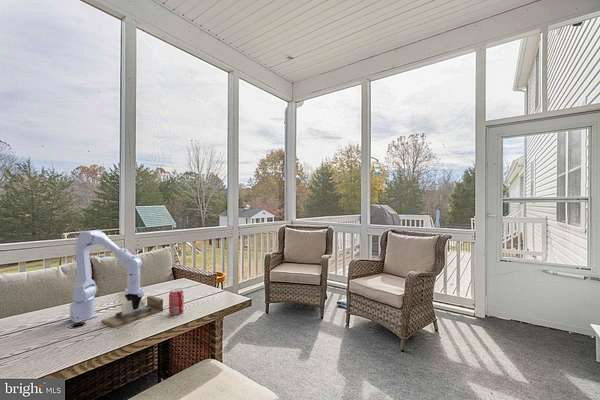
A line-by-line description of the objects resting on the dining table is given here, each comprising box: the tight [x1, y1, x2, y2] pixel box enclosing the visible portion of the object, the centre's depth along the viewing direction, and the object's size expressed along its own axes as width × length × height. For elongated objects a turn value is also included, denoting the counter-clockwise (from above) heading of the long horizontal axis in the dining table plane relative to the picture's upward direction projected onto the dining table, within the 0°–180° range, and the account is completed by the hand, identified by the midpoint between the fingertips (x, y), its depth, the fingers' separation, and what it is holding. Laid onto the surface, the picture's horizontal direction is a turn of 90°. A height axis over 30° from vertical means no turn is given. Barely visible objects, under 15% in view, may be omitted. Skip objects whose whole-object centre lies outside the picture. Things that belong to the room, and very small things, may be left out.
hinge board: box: [101, 295, 164, 329], centre depth 142 cm, size 24×12×6 cm, turn 147°
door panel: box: [121, 296, 146, 315], centre depth 142 cm, size 10×4×7 cm, turn 147°
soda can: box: [168, 288, 185, 316], centre depth 146 cm, size 7×7×12 cm
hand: (133, 308), depth 142 cm, fingers closed on door panel, 3 cm apart
